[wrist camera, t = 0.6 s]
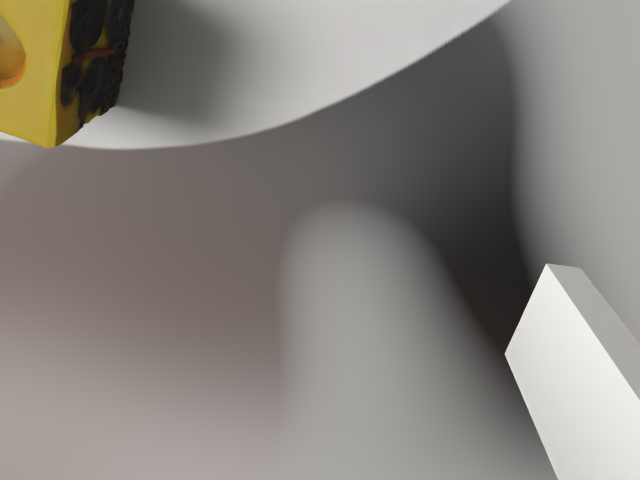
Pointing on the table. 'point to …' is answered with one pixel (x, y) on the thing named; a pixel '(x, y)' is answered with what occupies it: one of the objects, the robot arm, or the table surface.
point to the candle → (59, 65)
